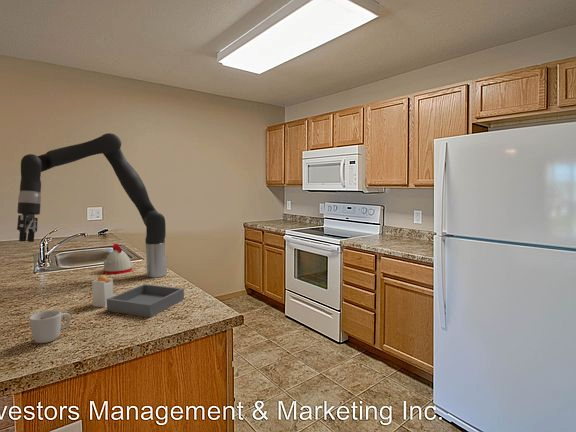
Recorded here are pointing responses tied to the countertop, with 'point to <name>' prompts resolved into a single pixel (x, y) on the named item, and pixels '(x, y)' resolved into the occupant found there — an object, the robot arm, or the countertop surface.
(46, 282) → the countertop surface
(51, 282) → the countertop surface
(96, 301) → the open white crate
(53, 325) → the cup
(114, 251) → the cream and red dome
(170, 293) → the tray
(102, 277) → the ball
